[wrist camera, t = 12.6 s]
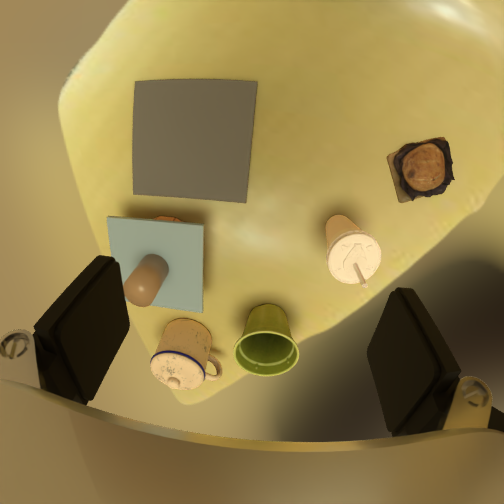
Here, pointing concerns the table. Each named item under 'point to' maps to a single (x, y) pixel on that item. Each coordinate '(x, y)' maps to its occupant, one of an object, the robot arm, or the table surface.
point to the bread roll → (421, 169)
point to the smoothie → (350, 251)
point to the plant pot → (266, 343)
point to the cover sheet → (170, 248)
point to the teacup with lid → (184, 355)
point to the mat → (193, 138)
